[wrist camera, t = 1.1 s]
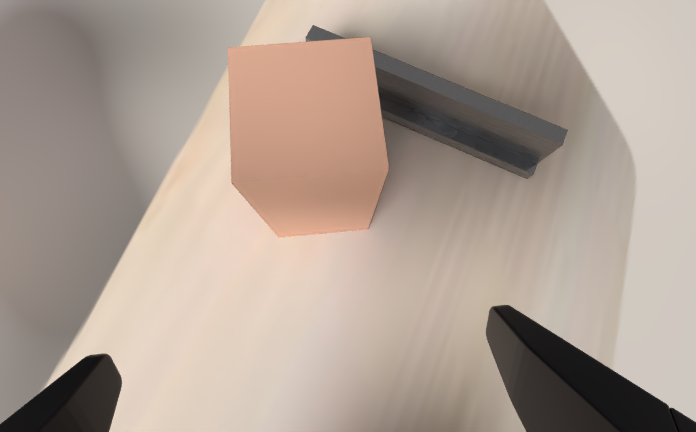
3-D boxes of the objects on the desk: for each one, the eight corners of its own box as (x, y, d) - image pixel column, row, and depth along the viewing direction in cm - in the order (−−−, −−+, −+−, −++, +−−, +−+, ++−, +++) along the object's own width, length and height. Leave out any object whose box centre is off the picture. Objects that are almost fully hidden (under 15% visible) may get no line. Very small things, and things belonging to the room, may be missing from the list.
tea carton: (368, 229, 23) (388, 168, 13) (279, 237, 22) (231, 183, 13) (358, 145, 24) (370, 33, 14) (274, 152, 24) (227, 44, 14)
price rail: (526, 178, 24) (558, 156, 20) (305, 83, 25) (299, 48, 22) (536, 151, 24) (569, 125, 21) (318, 59, 25) (315, 21, 22)
